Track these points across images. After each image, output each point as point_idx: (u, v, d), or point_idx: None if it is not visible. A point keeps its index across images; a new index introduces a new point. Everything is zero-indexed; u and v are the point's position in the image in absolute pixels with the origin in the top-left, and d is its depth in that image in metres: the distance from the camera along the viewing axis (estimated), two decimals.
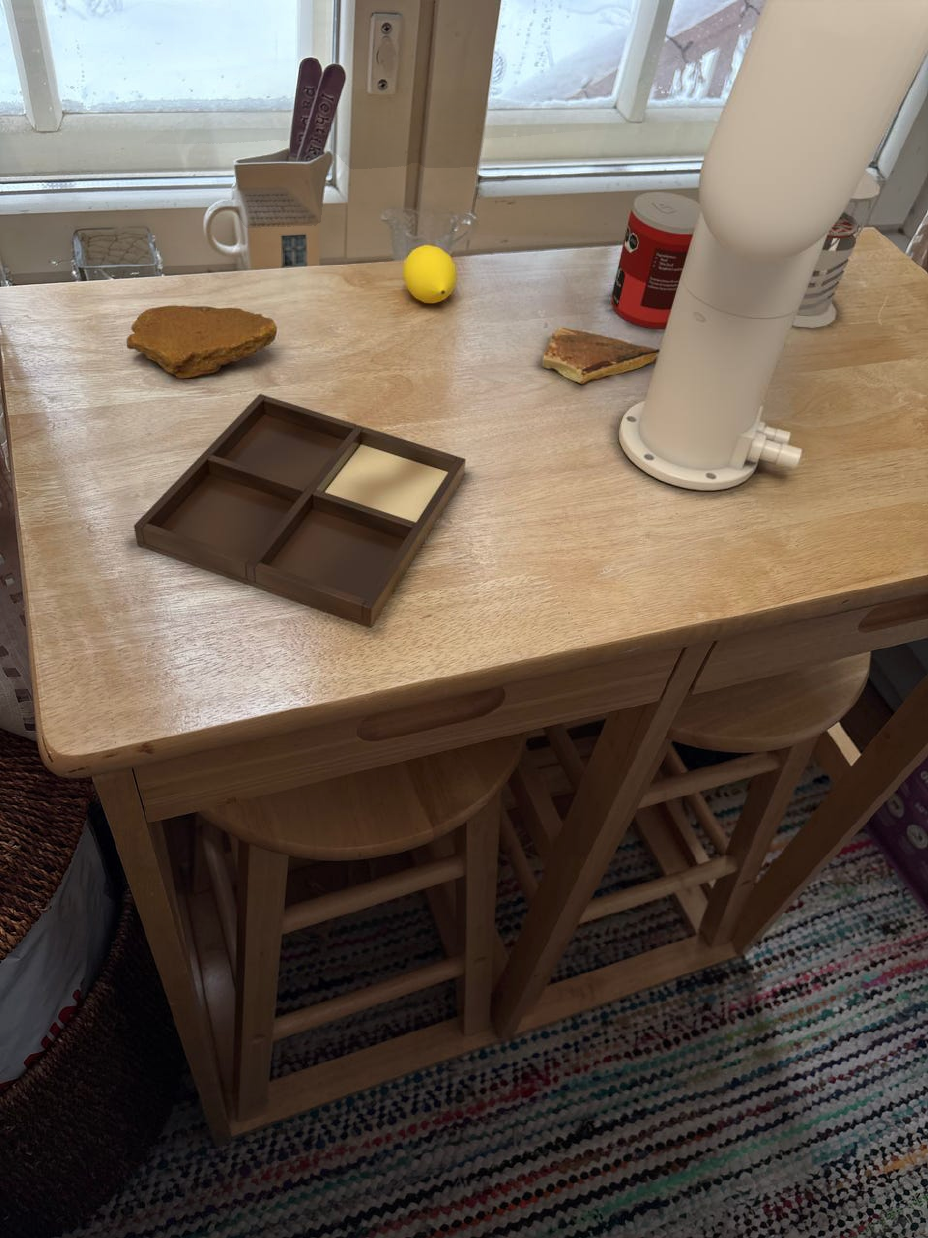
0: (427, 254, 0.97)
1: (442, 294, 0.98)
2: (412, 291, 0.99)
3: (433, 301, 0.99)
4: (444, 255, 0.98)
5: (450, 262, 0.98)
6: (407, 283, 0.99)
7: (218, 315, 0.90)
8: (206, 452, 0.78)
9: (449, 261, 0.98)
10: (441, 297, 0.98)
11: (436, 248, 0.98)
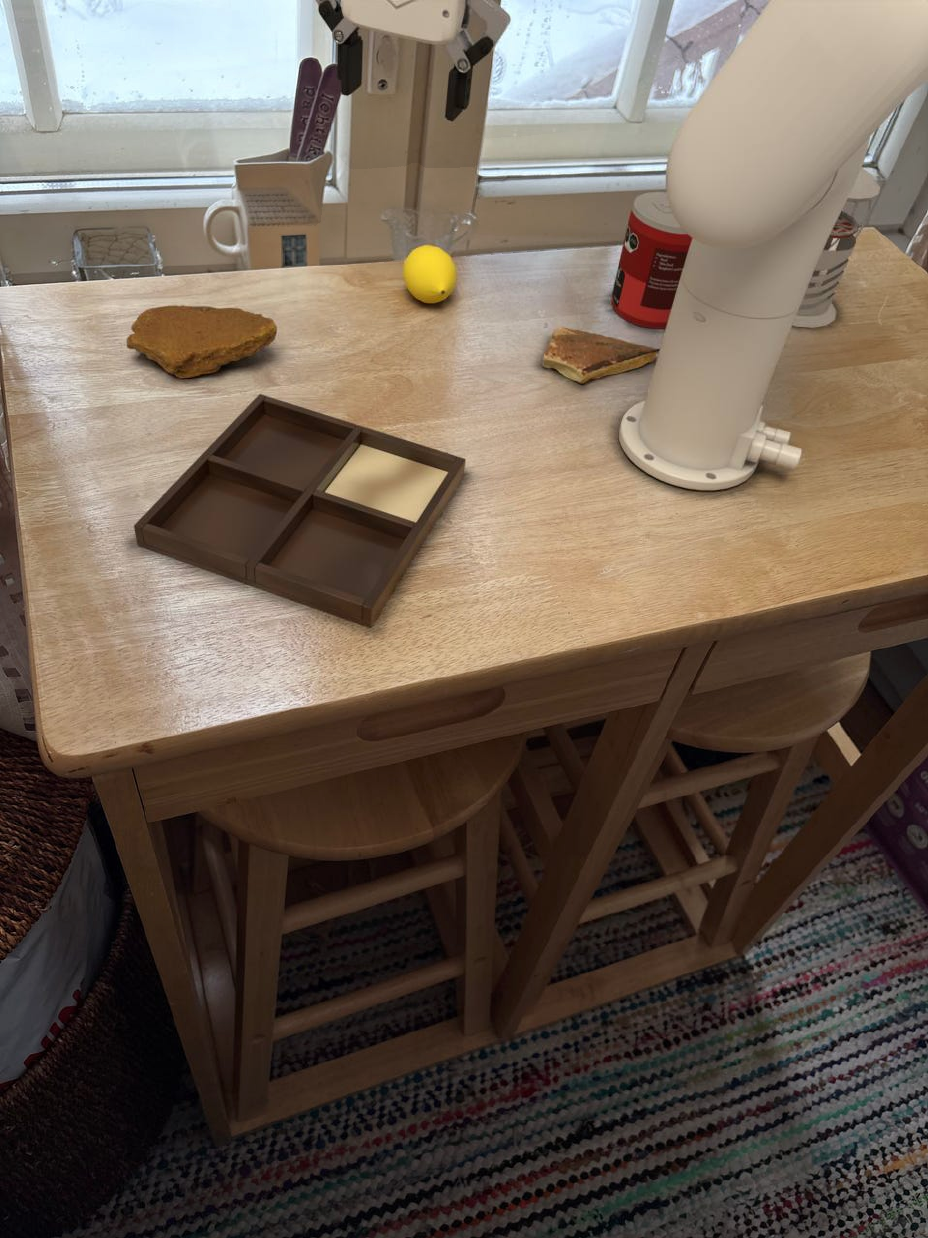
0: (427, 254, 0.97)
1: (442, 294, 0.98)
2: (412, 291, 0.99)
3: (433, 301, 0.99)
4: (444, 255, 0.98)
5: (450, 262, 0.98)
6: (407, 283, 0.99)
7: (218, 315, 0.90)
8: (206, 452, 0.78)
9: (449, 261, 0.98)
10: (441, 297, 0.98)
11: (436, 248, 0.98)
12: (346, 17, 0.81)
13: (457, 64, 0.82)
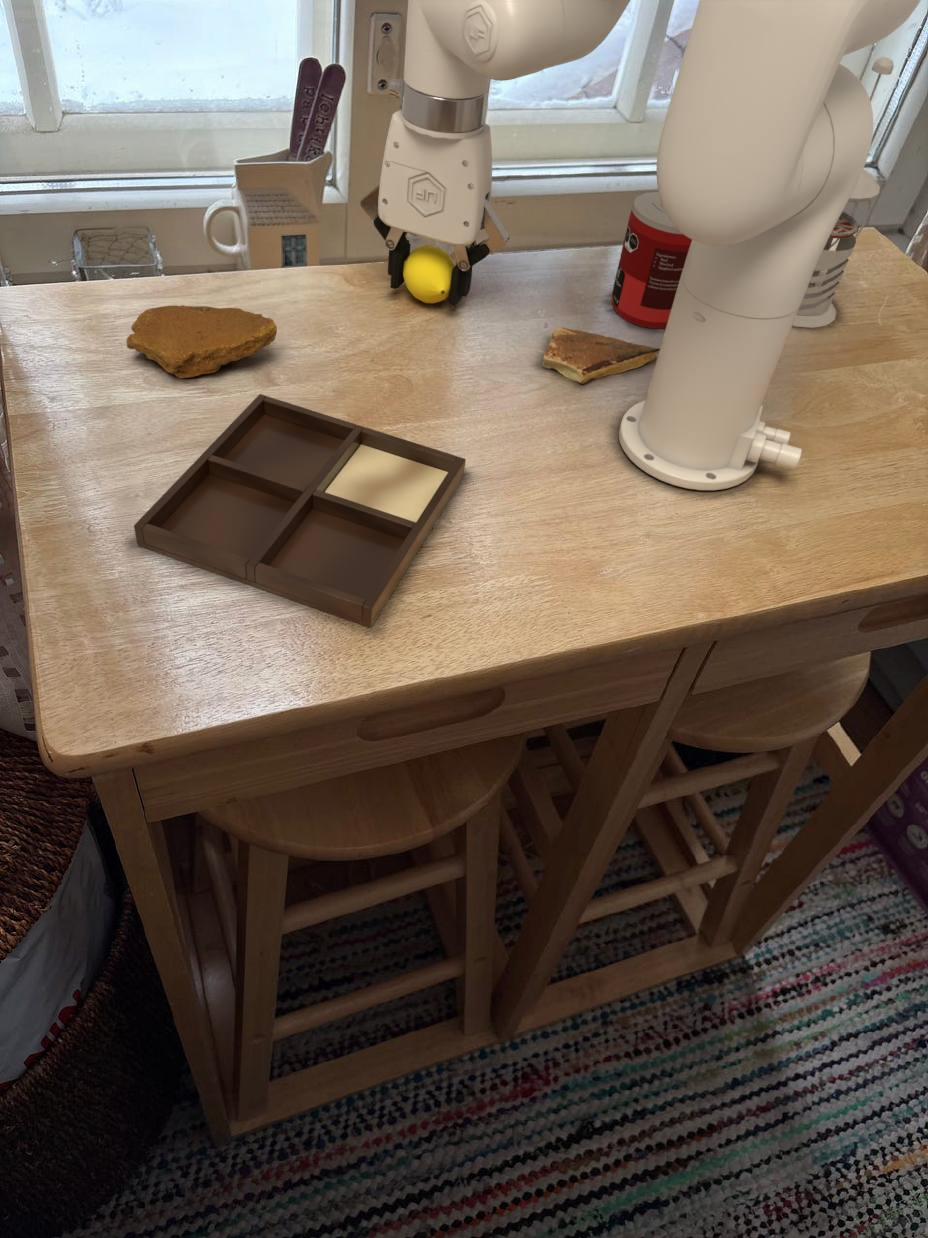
0: (427, 253, 0.97)
1: (442, 294, 0.98)
2: (412, 291, 0.99)
3: (433, 301, 0.99)
4: (444, 255, 0.98)
5: (450, 262, 0.98)
6: (407, 283, 0.99)
7: (218, 315, 0.90)
8: (206, 452, 0.78)
9: (449, 261, 0.98)
10: (441, 297, 0.98)
11: (436, 248, 0.98)
12: (382, 220, 0.94)
13: (459, 264, 0.96)
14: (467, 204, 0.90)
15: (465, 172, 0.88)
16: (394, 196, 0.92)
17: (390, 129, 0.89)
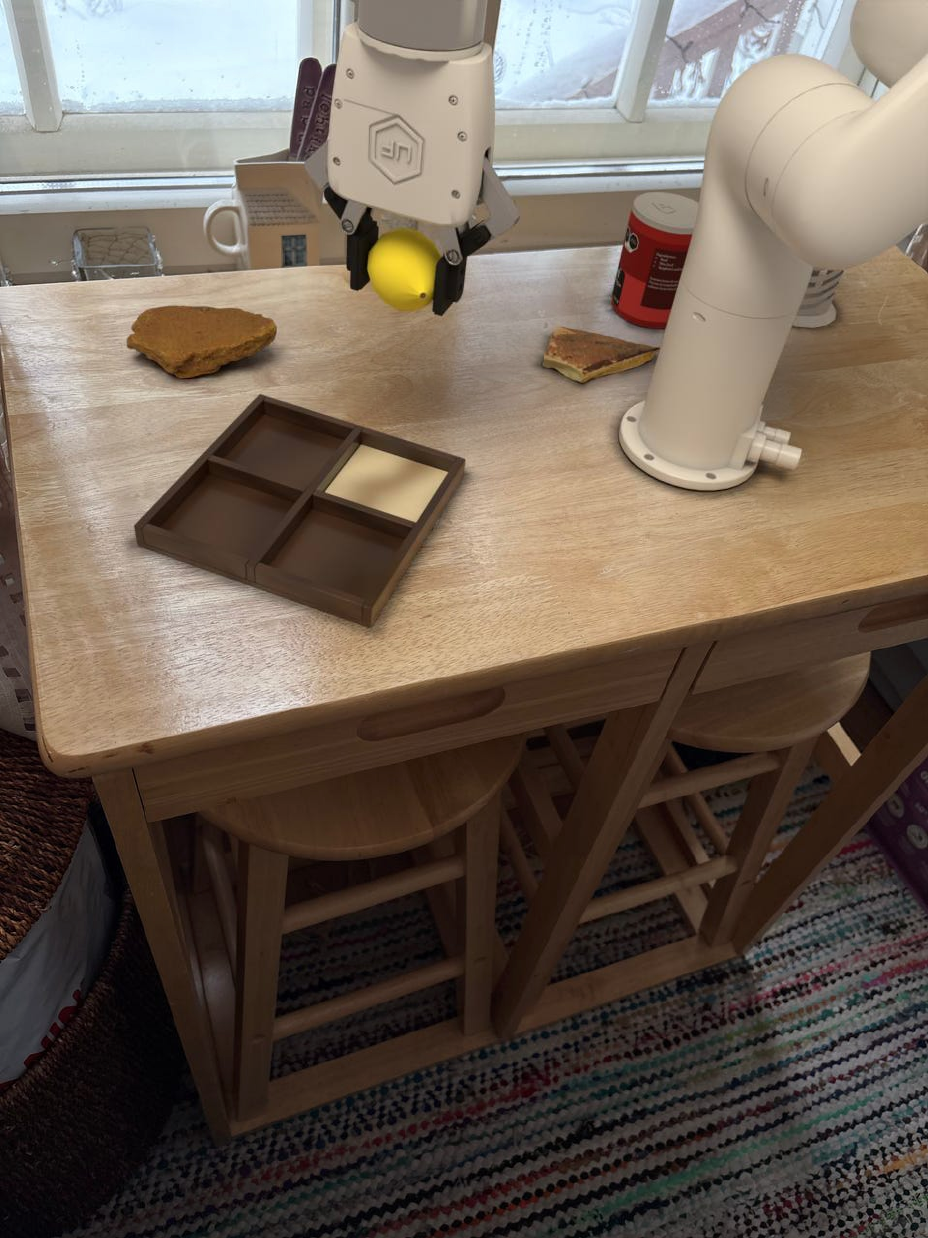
0: (401, 240, 0.67)
1: (422, 298, 0.68)
2: (380, 294, 0.69)
3: (410, 309, 0.69)
4: (426, 243, 0.68)
5: (434, 252, 0.68)
6: (373, 282, 0.69)
7: (218, 315, 0.90)
8: (206, 452, 0.78)
9: (433, 251, 0.68)
10: (421, 303, 0.68)
11: (415, 232, 0.68)
12: (333, 189, 0.64)
13: (446, 255, 0.66)
14: (457, 164, 0.60)
15: (454, 114, 0.58)
16: (350, 153, 0.62)
17: (341, 49, 0.59)
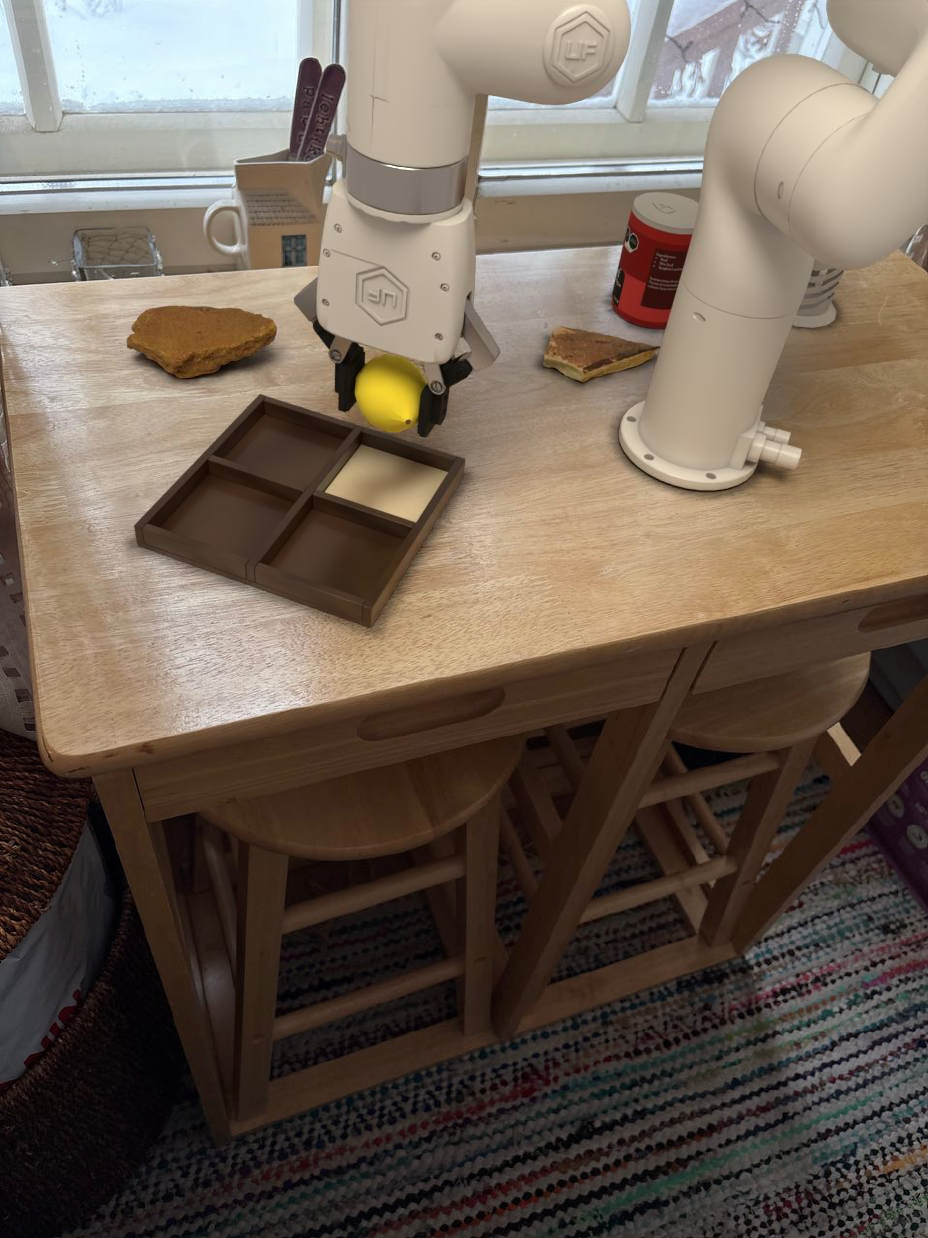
0: (386, 369, 0.70)
1: (407, 424, 0.71)
2: (367, 418, 0.72)
3: (396, 431, 0.72)
4: (411, 371, 0.71)
5: (419, 380, 0.71)
6: (360, 407, 0.72)
7: (218, 315, 0.90)
8: (206, 452, 0.78)
9: (417, 378, 0.71)
10: (406, 427, 0.72)
11: (400, 360, 0.71)
12: (322, 326, 0.68)
13: (430, 385, 0.69)
14: (440, 311, 0.64)
15: (436, 268, 0.62)
16: (338, 296, 0.65)
17: (329, 206, 0.62)
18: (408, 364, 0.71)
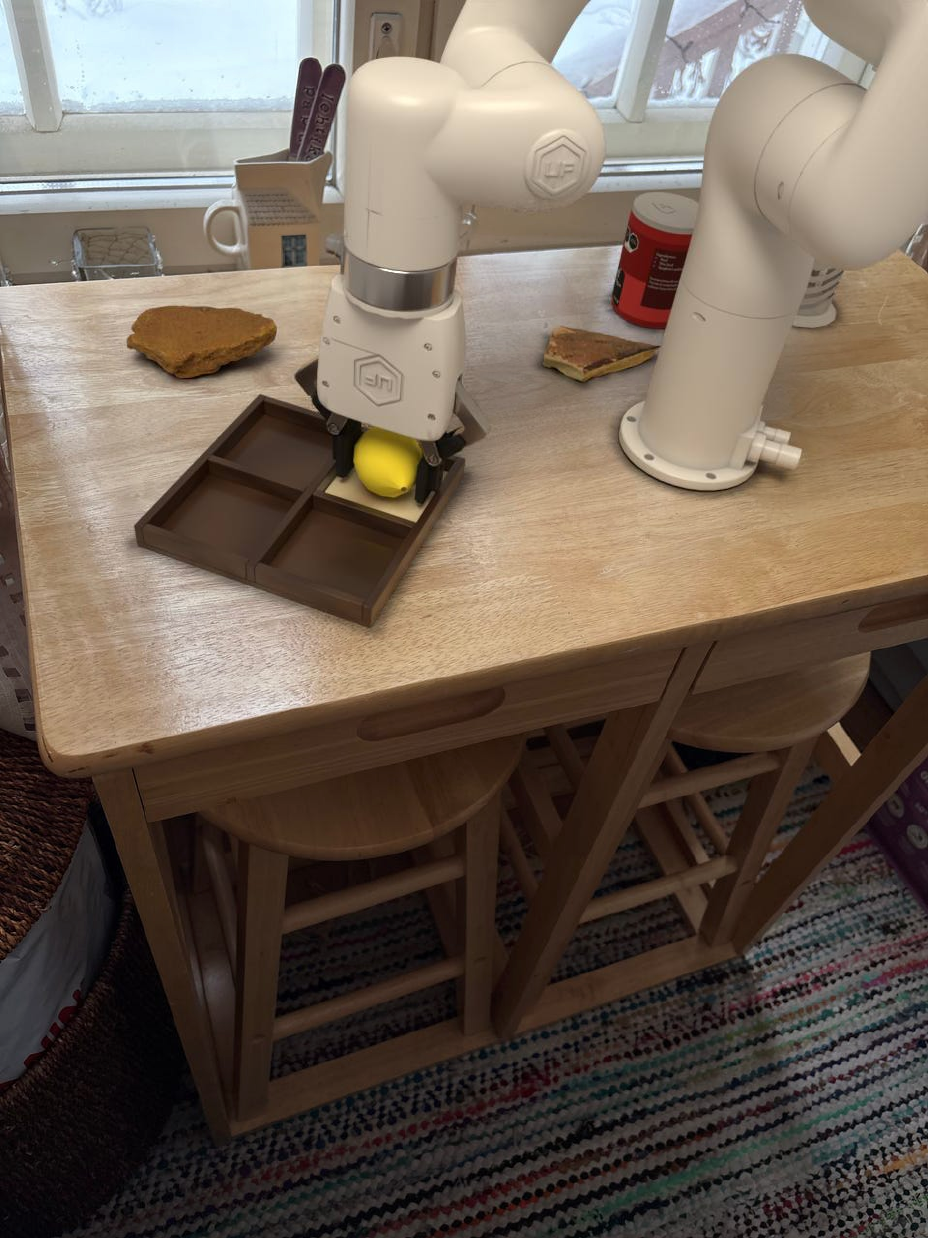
0: (383, 439, 0.75)
1: (403, 491, 0.75)
2: (365, 484, 0.77)
3: (392, 496, 0.77)
4: (406, 441, 0.75)
5: (414, 449, 0.76)
6: (358, 474, 0.76)
7: (218, 315, 0.90)
8: (206, 452, 0.78)
9: (412, 448, 0.76)
10: (402, 493, 0.76)
11: None
12: (322, 405, 0.72)
13: (426, 458, 0.74)
14: (432, 395, 0.68)
15: (428, 357, 0.66)
16: (337, 379, 0.70)
17: (328, 300, 0.67)
18: None
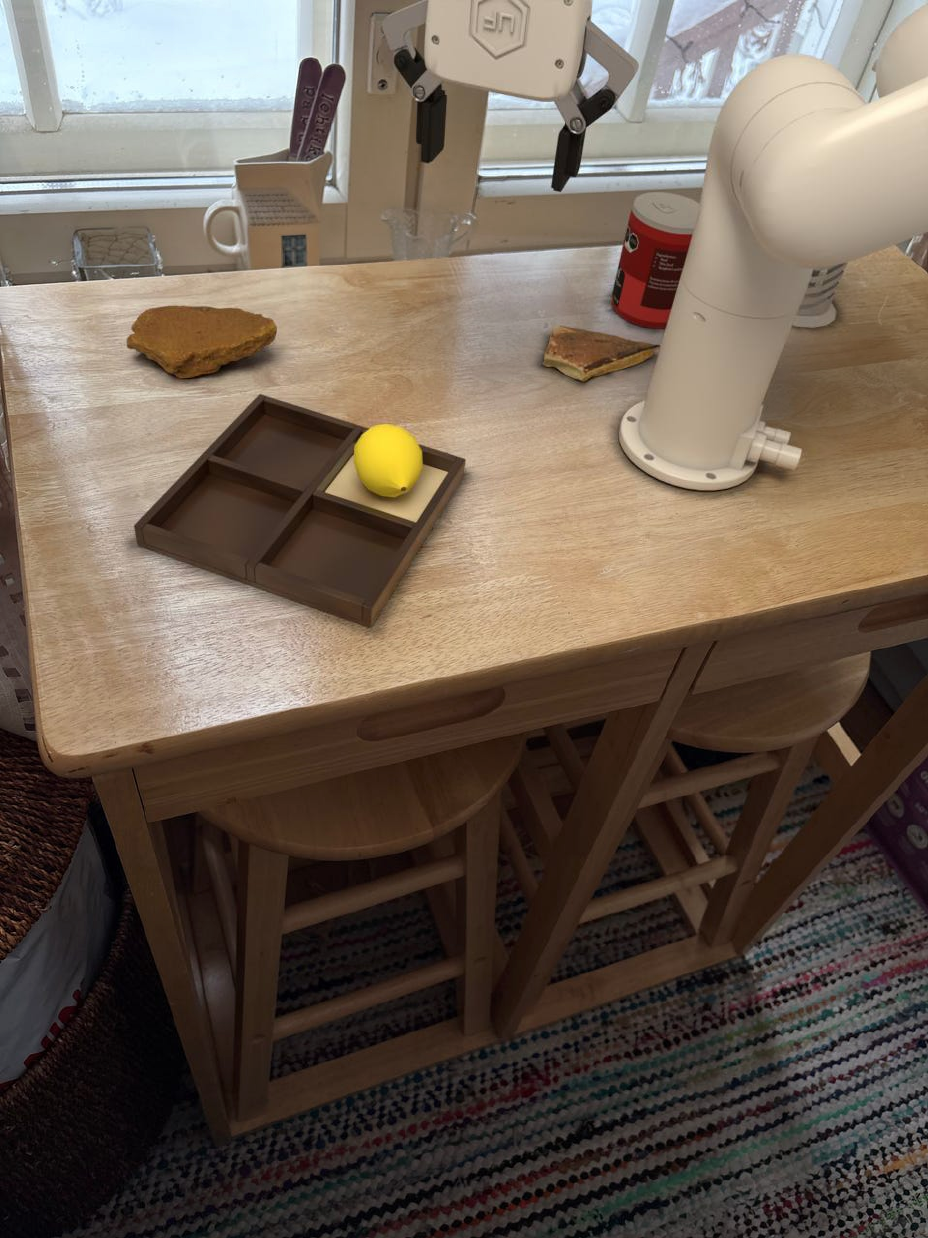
0: (383, 439, 0.75)
1: (403, 491, 0.75)
2: (365, 484, 0.77)
3: (392, 496, 0.77)
4: (406, 441, 0.75)
5: (414, 449, 0.76)
6: (358, 474, 0.76)
7: (218, 315, 0.90)
8: (206, 452, 0.78)
9: (412, 447, 0.76)
10: (402, 493, 0.76)
11: (396, 430, 0.76)
12: (430, 70, 0.64)
13: (569, 124, 0.65)
14: (562, 31, 0.60)
15: None
16: (449, 29, 0.62)
17: None
18: (403, 434, 0.76)
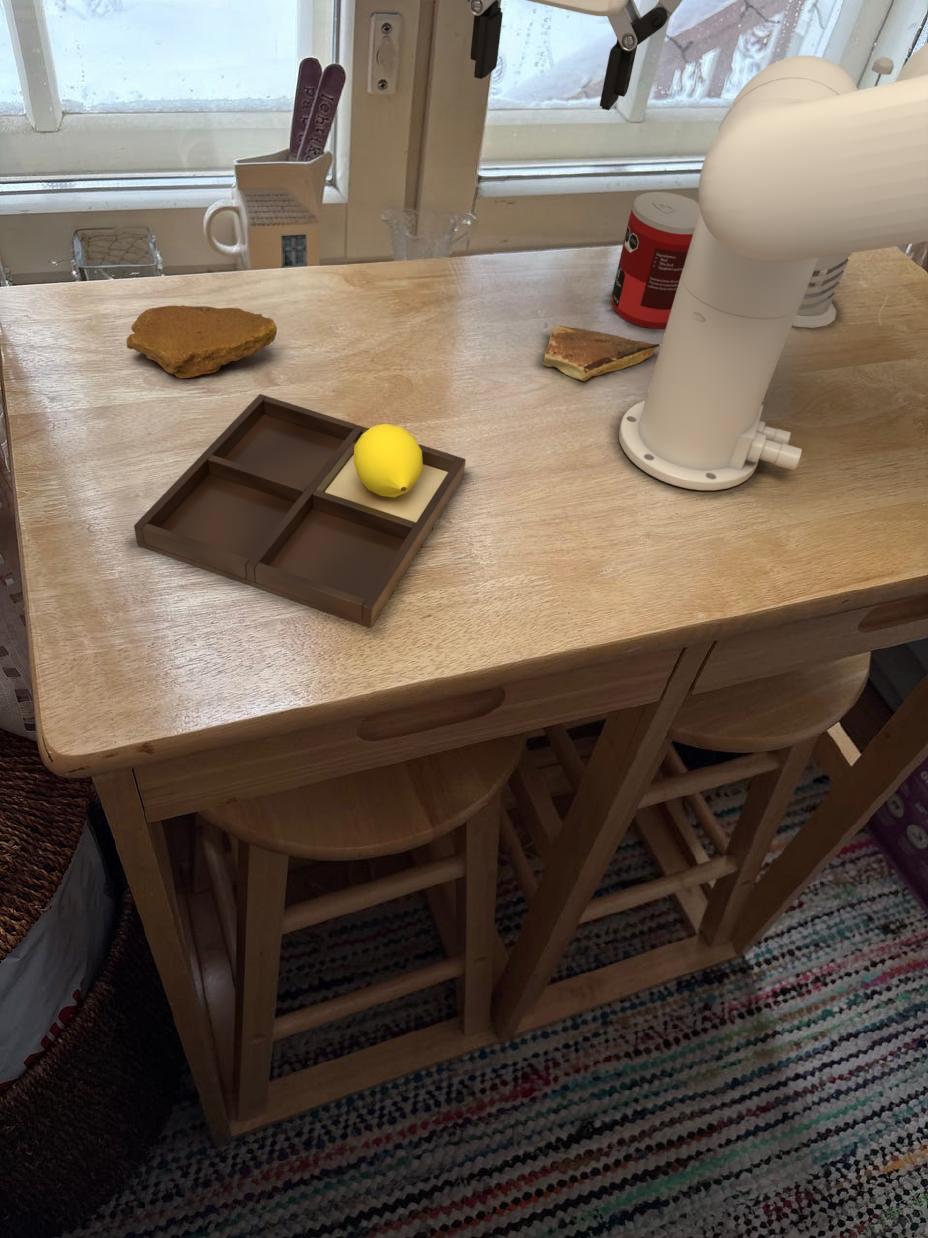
0: (383, 439, 0.75)
1: (403, 491, 0.75)
2: (365, 484, 0.77)
3: (392, 496, 0.77)
4: (406, 441, 0.75)
5: (414, 449, 0.76)
6: (358, 474, 0.76)
7: (218, 315, 0.90)
8: (206, 452, 0.78)
9: (412, 447, 0.76)
10: (402, 493, 0.76)
11: (396, 431, 0.76)
12: None
13: (621, 40, 0.67)
14: None
15: None
16: None
17: None
18: (403, 434, 0.76)
